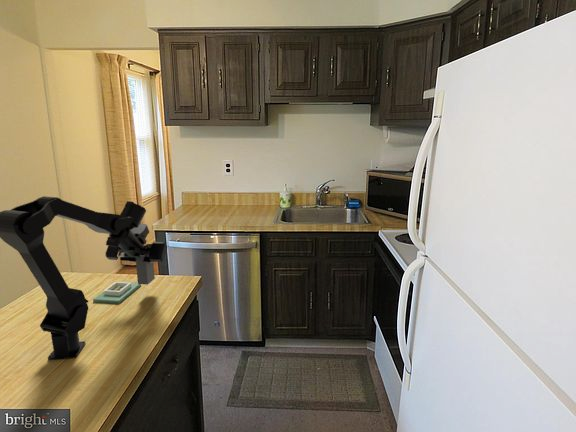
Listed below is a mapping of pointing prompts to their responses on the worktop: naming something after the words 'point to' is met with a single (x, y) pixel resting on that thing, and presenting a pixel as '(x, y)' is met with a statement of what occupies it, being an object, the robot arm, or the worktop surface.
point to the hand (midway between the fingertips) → (146, 261)
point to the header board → (117, 292)
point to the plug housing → (144, 271)
